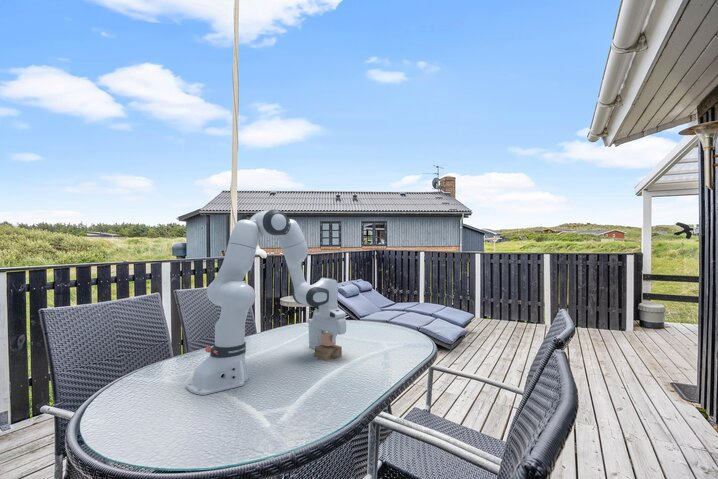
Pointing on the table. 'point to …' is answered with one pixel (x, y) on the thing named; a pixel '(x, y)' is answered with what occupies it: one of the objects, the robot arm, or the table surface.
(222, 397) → the table surface
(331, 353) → the walnut block
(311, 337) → the skincare box
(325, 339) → the terracotta cube
